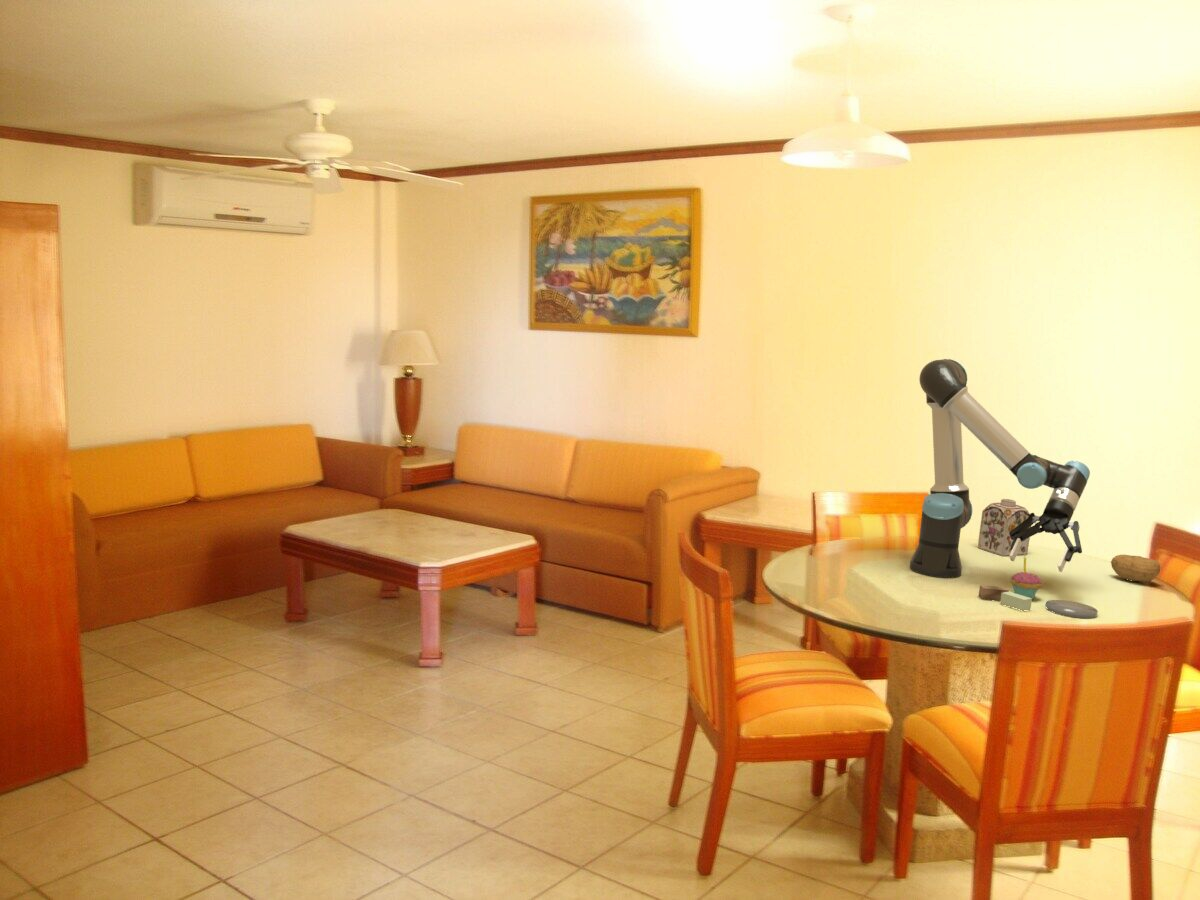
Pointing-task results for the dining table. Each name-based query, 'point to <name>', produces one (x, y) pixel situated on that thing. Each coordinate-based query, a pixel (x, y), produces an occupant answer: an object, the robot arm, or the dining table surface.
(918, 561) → the robot arm
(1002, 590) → the walnut brick
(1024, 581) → the cupcake
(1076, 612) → the plate
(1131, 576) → the potato
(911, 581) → the dining table surface
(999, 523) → the decorative jar
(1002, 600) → the sage brick
